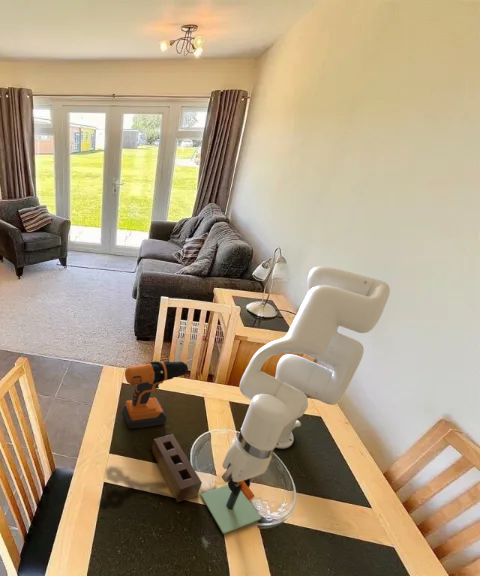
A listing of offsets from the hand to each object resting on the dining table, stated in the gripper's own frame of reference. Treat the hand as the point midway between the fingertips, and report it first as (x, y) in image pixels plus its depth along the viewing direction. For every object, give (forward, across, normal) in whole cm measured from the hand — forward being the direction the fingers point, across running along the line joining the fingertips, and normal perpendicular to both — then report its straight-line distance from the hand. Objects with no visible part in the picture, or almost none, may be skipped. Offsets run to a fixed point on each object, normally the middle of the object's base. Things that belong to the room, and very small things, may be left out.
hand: (237, 488), depth 82 cm
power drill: (+9, +8, -33) cm, 35 cm away
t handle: (+8, 0, 0) cm, 8 cm away
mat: (+9, 0, 0) cm, 9 cm away
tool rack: (+9, +10, -13) cm, 19 cm away
